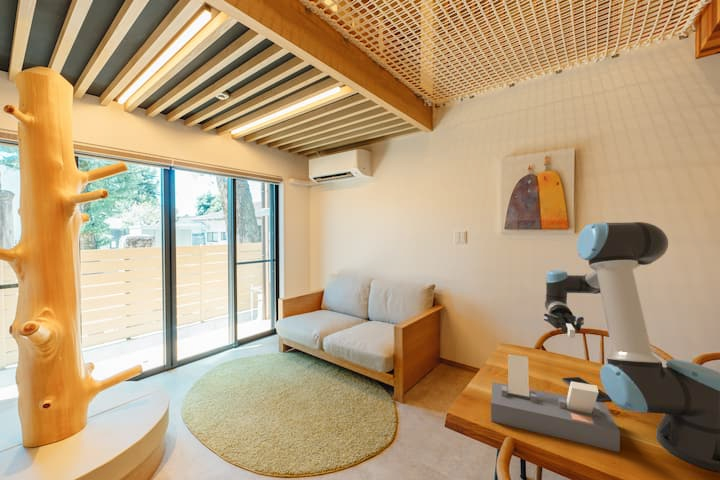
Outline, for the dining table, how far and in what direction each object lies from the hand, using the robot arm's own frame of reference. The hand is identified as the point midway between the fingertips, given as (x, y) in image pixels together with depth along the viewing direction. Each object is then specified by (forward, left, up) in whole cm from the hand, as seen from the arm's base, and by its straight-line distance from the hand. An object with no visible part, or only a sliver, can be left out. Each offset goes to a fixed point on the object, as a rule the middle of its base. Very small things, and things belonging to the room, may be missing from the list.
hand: (572, 333), depth 99 cm
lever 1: (+9, +17, -20) cm, 28 cm away
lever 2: (-5, +9, -20) cm, 22 cm away
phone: (+2, -18, -26) cm, 32 cm away
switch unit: (+2, +13, -26) cm, 29 cm away
